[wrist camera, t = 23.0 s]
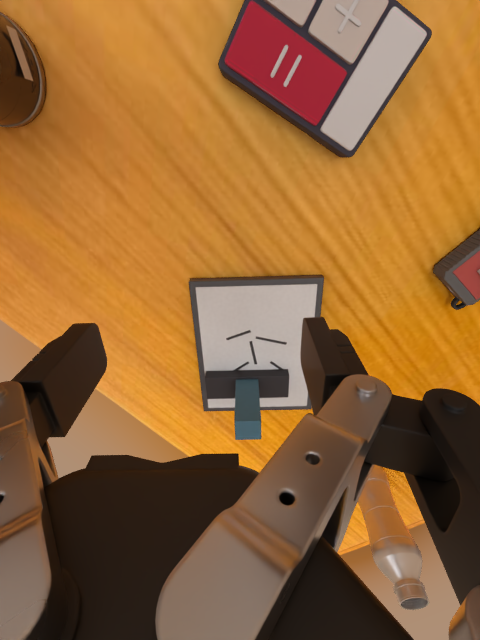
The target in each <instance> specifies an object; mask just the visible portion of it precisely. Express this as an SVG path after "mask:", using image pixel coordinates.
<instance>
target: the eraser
mask: <svg viewBox="0 0 480 640" xmlns="http://www.w3.org/2000/svg"><path fill="white" fill-rule="evenodd" d="M205 385H206V394H207V399H235V438H236V440H245V439H261V413H260V398H282V397H288V394H289V372H288V369H273V370H230V371H206V373H205Z"/></svg>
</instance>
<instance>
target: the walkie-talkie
mask: <svg viewBox="0 0 480 640" xmlns="http://www.w3.org/2000/svg"><path fill="white" fill-rule="evenodd" d="M433 273H434V274H435V275H436V276H437V277H438V278H439V279H440V280H441V282H442V283H443V284H444V285H445V286H446V287H447V288H448V290H449V291H450V292H451V293H452V294H453V295H454V296H455V298H454V299H453V300H452V301H451V306H452V307H453V308H454V309H456V310H459V309H461V308H464V307H465V306H466V305H473V304H474V303H476V302H478V301H479V300H480V229H479V230H478V231H477V232H475V233H474V234H473V235H471V236H470V238H468V239H466V241H465V242H463V243H462V244H461V245H460V246H458V247H457V248H456V249H454V251H452V252H450V254H449V255H447V256H446V257H445V258H444V259H442V260H441V261H440V262H438V264H436V265H435V267H434V270H433ZM459 300H460V301H462V303H460V304H459V305H456V303H457V302H458V301H459Z"/></svg>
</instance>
